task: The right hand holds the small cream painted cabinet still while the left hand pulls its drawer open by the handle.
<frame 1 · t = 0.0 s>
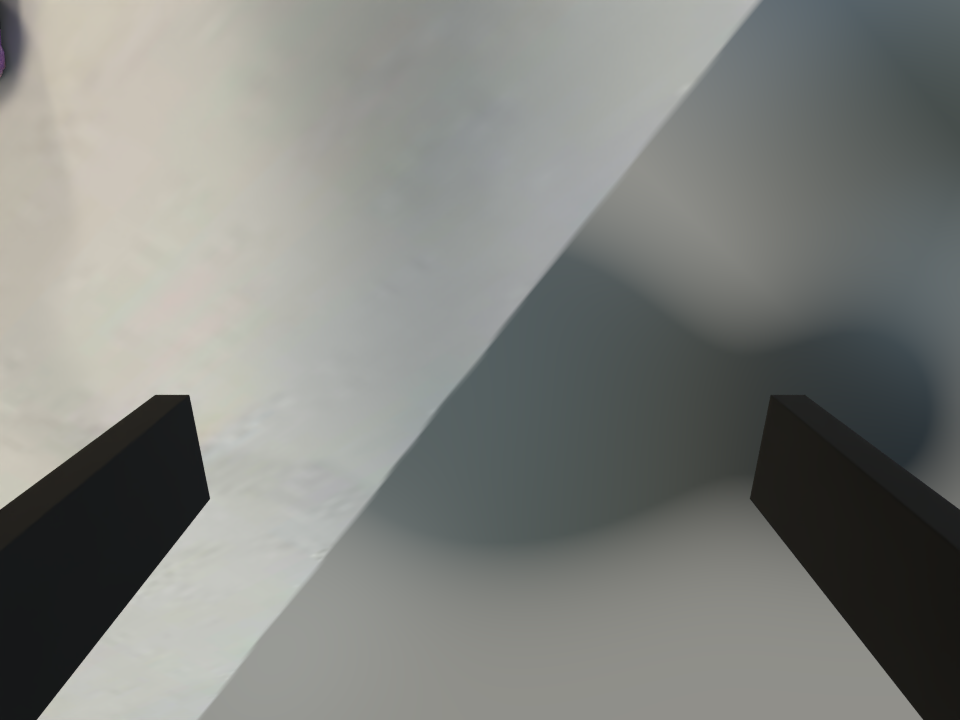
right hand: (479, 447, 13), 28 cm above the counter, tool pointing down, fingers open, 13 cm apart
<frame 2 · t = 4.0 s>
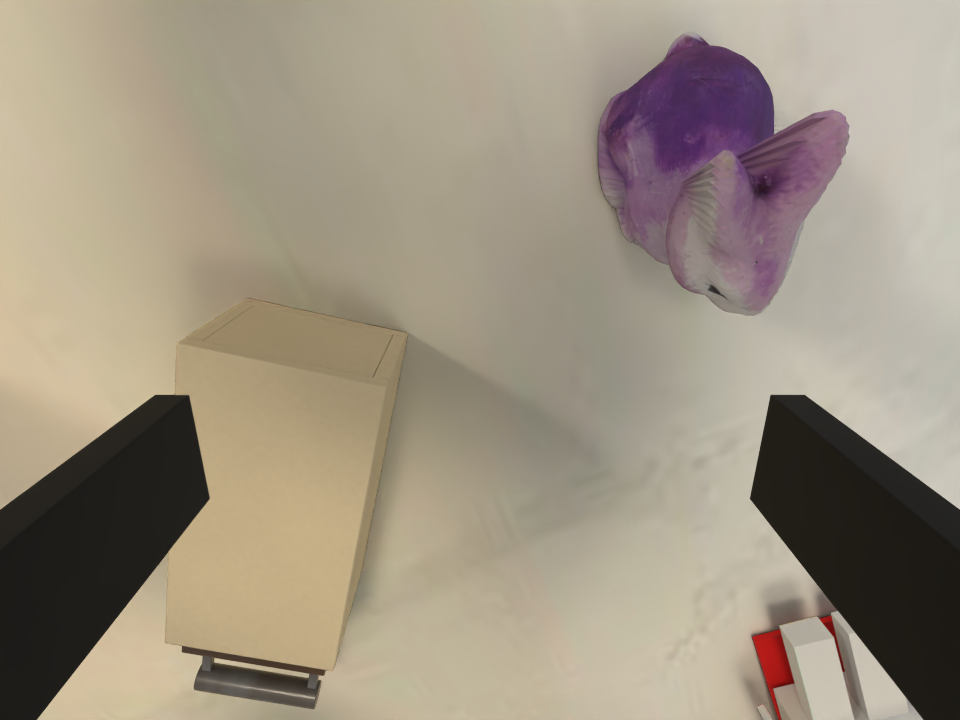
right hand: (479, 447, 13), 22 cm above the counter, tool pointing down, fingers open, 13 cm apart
drawer: (281, 547, 36), point 4 cm above the counter, slide at 0.5 cm
cabinet: (309, 448, 38), on the counter
figurine: (668, 166, 32), on the counter
toy: (823, 713, 47), on the counter
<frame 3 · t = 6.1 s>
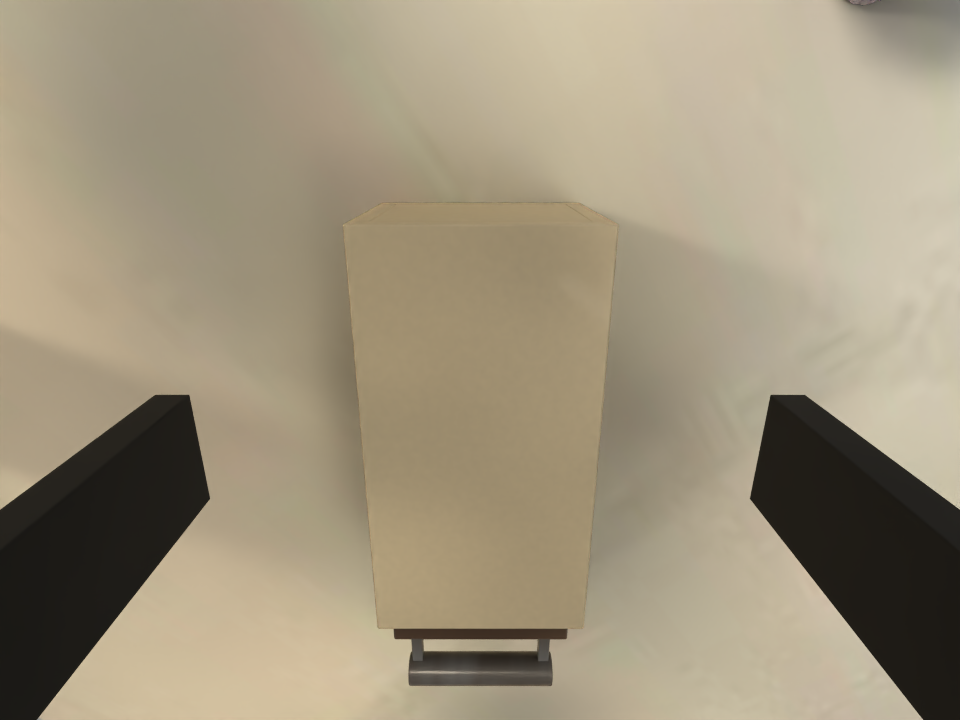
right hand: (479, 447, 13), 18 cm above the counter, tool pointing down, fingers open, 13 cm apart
drawer: (480, 495, 30), point 4 cm above the counter, slide at 0.5 cm
cabinet: (480, 378, 32), on the counter
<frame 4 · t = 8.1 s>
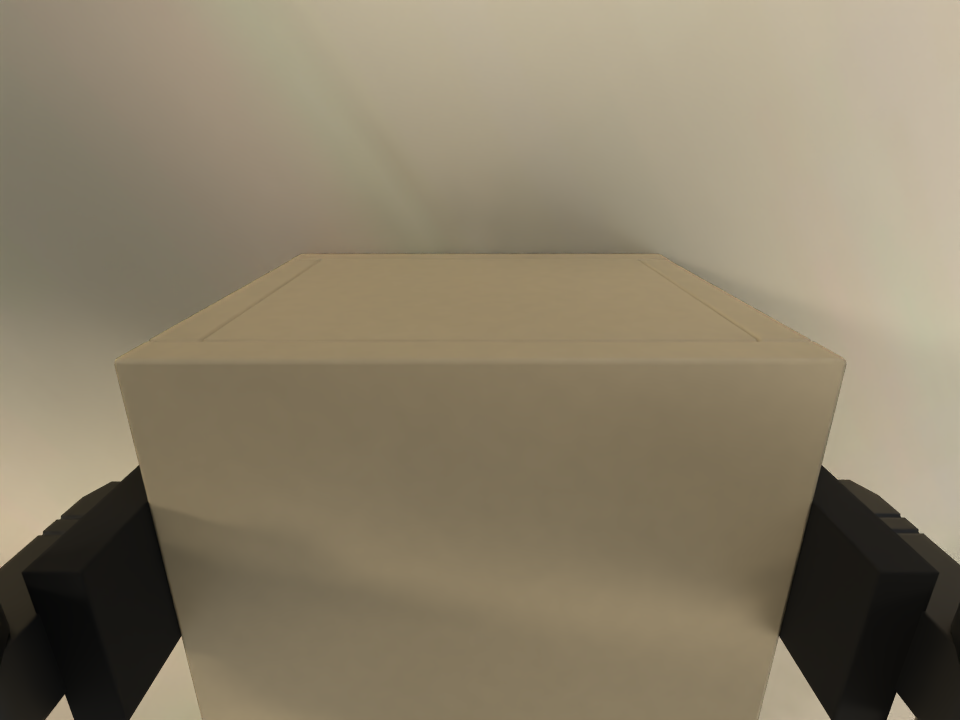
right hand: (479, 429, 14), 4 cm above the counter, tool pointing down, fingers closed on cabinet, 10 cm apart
cabinet: (480, 538, 19), on the counter, touching right hand
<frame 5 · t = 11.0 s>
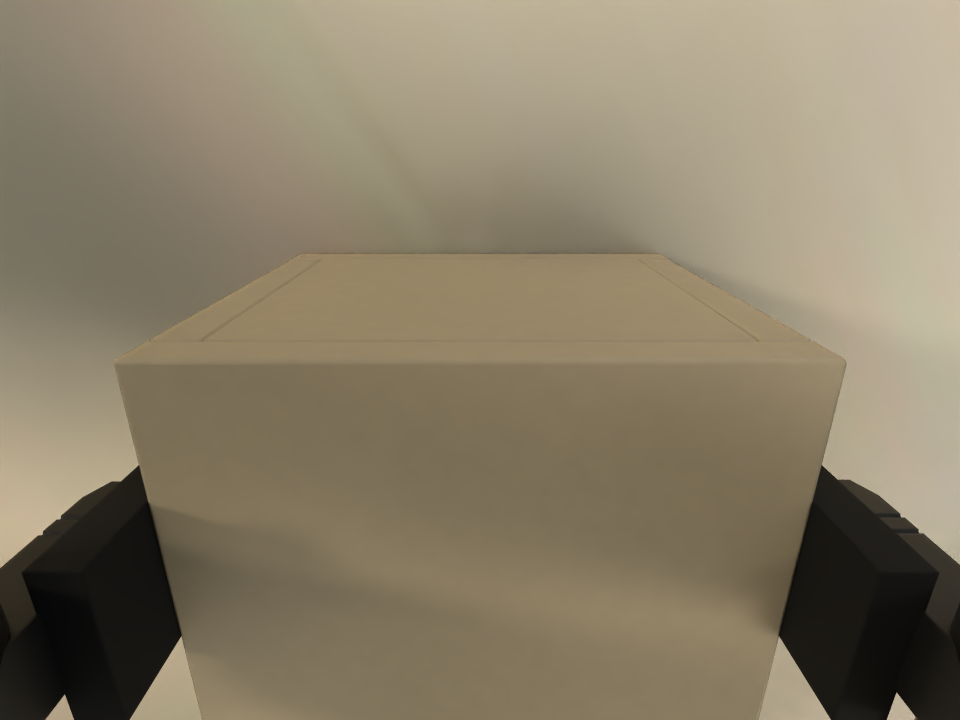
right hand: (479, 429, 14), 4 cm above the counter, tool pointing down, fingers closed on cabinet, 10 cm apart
cabinet: (480, 538, 19), on the counter, touching right hand
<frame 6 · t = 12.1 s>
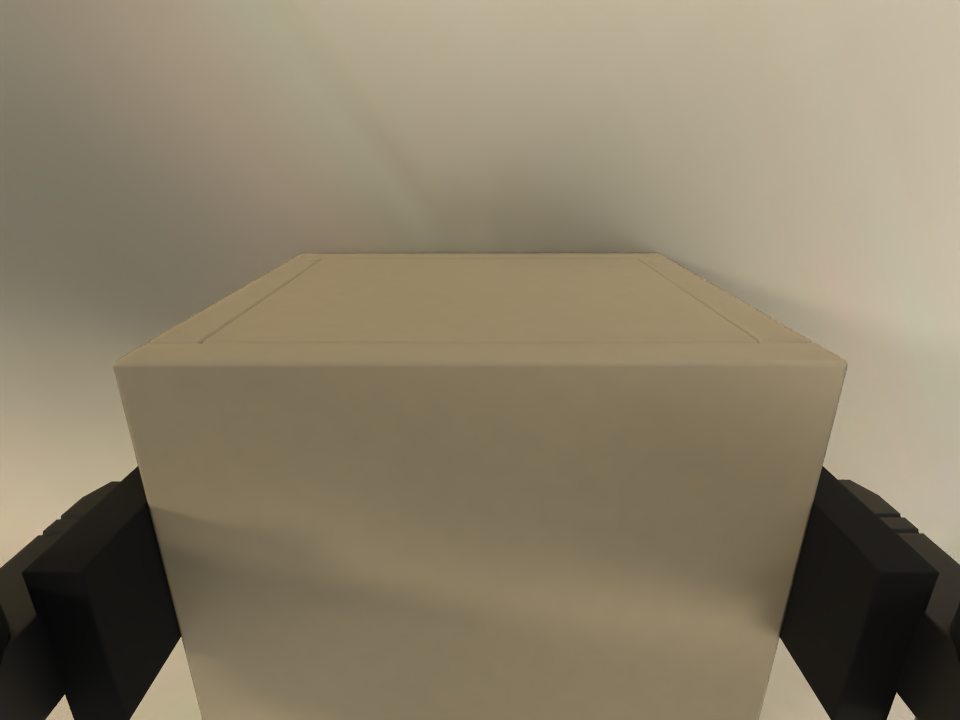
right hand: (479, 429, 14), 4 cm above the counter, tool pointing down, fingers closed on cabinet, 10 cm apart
cabinet: (480, 537, 19), on the counter, touching right hand
when the right hand's fingers open (4 cm above the counter, at t = 13.9 s): cabinet stays where it is, on the counter.
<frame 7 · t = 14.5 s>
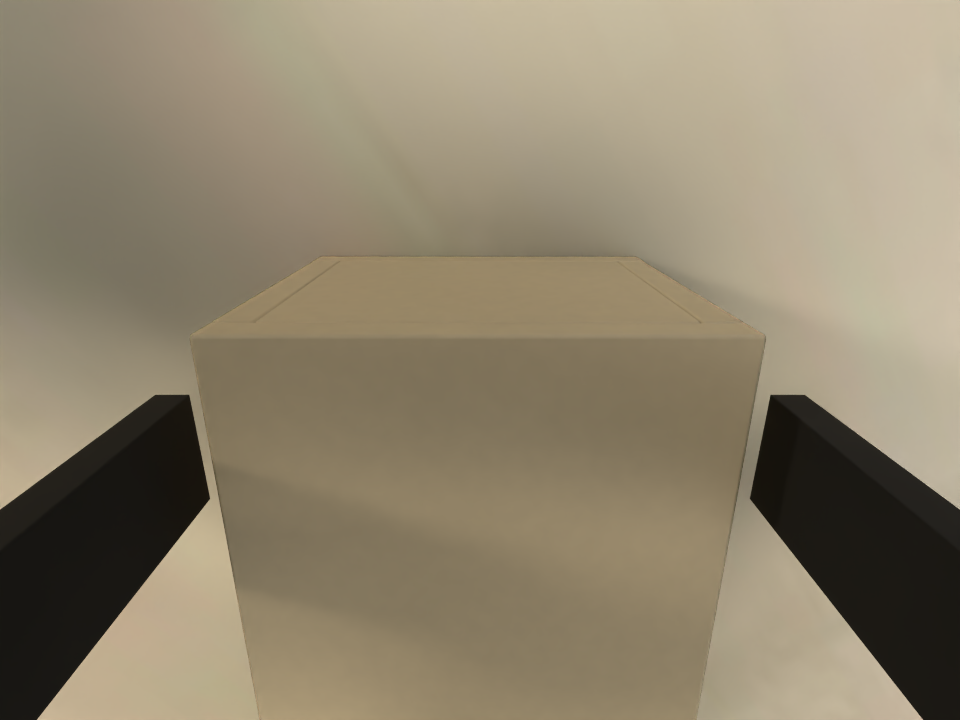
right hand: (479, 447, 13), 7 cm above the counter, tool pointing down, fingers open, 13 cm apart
cabinet: (478, 514, 21), on the counter
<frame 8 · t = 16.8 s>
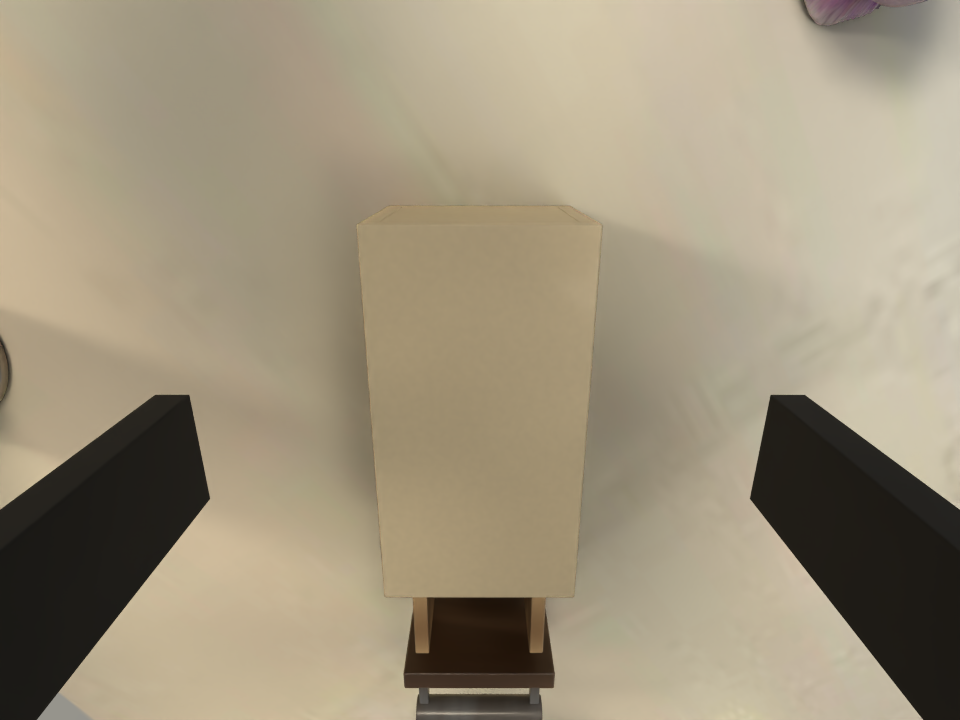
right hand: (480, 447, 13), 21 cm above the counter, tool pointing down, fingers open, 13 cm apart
drawer: (479, 561, 34), point 4 cm above the counter, slide at 6.6 cm
cabinet: (479, 369, 34), on the counter
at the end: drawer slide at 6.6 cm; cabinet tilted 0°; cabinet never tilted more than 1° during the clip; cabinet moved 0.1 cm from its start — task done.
